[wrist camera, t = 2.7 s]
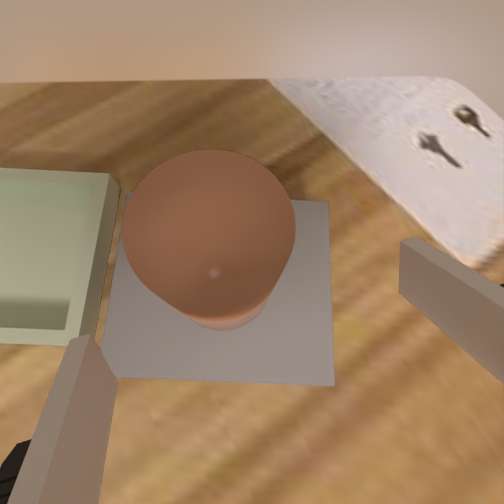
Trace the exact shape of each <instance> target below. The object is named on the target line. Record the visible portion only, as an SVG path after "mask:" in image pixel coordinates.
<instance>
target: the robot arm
mask: <svg viewBox="0 0 504 504" xmlns="http://www.w3.org/2000/svg"><path fill="white" fill-rule="evenodd" d="M399 293H400V294H401V295H402V296H403V297H404V298H405V299H406V300H408V301H409V302H410V303H411V304H412V305H413V306H414V307H416V308H417V309H418V310H419V311H420V312H421V313H422V314H424V315H425V316H426V317H427V318H428V319H429V320H431V321H432V322H433V323H434V324H435V325H436V326H437V327H439V328H440V329H441V330H442V331H443V332H444V333H445V334H447V335H448V336H449V337H450V338H451V339H452V340H453V341H455V342H456V343H457V344H458V345H459V346H460V347H462V348H463V349H464V350H465V351H466V352H467V353H468V354H470V355H471V356H472V357H473V358H474V359H475V360H476V361H478V362H479V363H480V364H481V365H482V366H483V367H485V368H486V369H487V370H488V371H489V372H490V373H491V374H493V375H494V376H495V377H496V378H497V379H498V380H499V381H501V382H502V383H503V384H504V284H501V285H498V284H497V283H495V282H493V281H491V280H490V279H488V278H486V277H485V276H483V275H481V274H479V273H478V272H476V271H474V270H473V269H471V268H469V267H468V266H466V265H464V264H462V263H461V262H459V261H457V260H456V259H454V258H452V257H450V256H449V255H447V254H445V253H444V252H442V251H440V250H438V249H437V248H435V247H433V246H432V245H430V244H428V243H426V242H425V241H423V240H421V239H420V238H418V237H413V238H409V239H406V240H403V241H400V264H399ZM117 384H118V381H117V379H116V378H115V376H114V374H113V372H112V371H111V369H110V367H109V365H108V363H107V362H106V360H105V358H104V356H103V355H102V353H101V351H100V349H99V347H98V346H97V344H96V342H95V340H94V339H93V337H92V335H91V333H90V334H86V335H83V336H80V337H76V338H73V339H70V341H69V343H68V346H67V349H66V351H65V354H64V357H63V359H62V362H61V364H60V367H59V370H58V372H57V375H56V377H55V380H54V383H53V385H52V388H51V390H50V393H49V396H48V398H47V401H46V404H45V406H44V409H43V411H42V414H41V417H40V419H39V422H38V424H37V427H36V430H35V432H34V435H33V437H32V439H31V440H28V441H24V442H21V443H18V444H17V445H16V446H15V447H14V449H13V450H12V451H11V453H10V454H9V455H8V457H7V458H6V459H5V461H4V462H3V463H2V465H1V468H0V504H98V501H99V495H100V488H101V482H102V476H103V470H104V464H105V458H106V452H107V446H108V439H109V433H110V427H111V421H112V415H113V409H114V403H115V397H116V390H117Z"/></svg>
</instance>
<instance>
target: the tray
mask: <svg viewBox="0 0 504 504" xmlns="http://www.w3.org/2000/svg"><path fill="white" fill-rule="evenodd" d="M120 190H121V188H120V187H119V186H118V184H117V183H116V181H115V180H114V179H113V177H112V176H111V175H110V173H92V172H73V171H54V170H36V169H17V168H0V343H5V344H29V345H53V346H68V343H69V341H70V339H73V338H76V337H80V336H83V335H86V334H90V333H91V335H92V337H93V339H94V337H95V331H96V325H97V320H98V314H99V309H100V303H101V297H102V292H103V286H104V280H105V275H106V269H107V264H108V258H109V252H110V247H111V241H112V235H113V230H114V224H115V219H116V213H117V207H118V202H119V196H120Z"/></svg>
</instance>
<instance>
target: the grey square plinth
mask: <svg viewBox="0 0 504 504" xmlns="http://www.w3.org/2000/svg"><path fill="white" fill-rule="evenodd" d="M133 192H134V191H128V193H127V199H126V204H125V209H126V207H127V204H128V201H129V199H130V197H131V195H132V194H133ZM290 201H291V203H292V206H293V210H294V215H295V223H296V233H295V241H294V246H293V250H292V253H291V255H290V258H289V260H288V262H287V264H286V266H285V268H284V270H283V272H282V274H281V276H280V278H279V280H278V282H277V284H276V286H275V287H274V289H273V291H272V293H271V295H270V297H269V299H268V301H267V303H266V305H265V307H264V308H263V310H262V311H261V312H260V314H259V315H258V316H257V317H256V318H254V319H253V320H252V321H251V322H249V323H248V324H246V325H244V326H242V327H239V328H236V329H233V330H226V331H218V330H211V329H207V328H205V327H202V326H200V325H198V324H196V323H195V322H193V321H192V320H191V319H189V318H188V317H186V316H185V315H184V314H182V313H181V312H179V311H178V310H176V309H175V308H174V307H172V306H171V305H169V304H168V303H167V302H165V301H164V300H162V299H161V298H160V297H158V296H157V295H156V294H154V293H153V292H152V291H150V290H149V289H148V288H147V287H146V286H145V285H144V284H143V283H142V282H141V281H140V280H139V278H138V277H137V276H136V274H135V273H134V272H133V270H132V268H131V266H130V264H129V262H128V260H127V257H126V254H125V251H124V246H123V240H122V228H121V234H120V240H119V246H118V251H117V257H116V263H115V269H114V275H113V281H112V287H111V293H110V299H109V304H108V310H107V316H106V322H105V328H104V334H103V340H102V346H101V353H102V355H103V356H104V358H105V360H106V362H107V363H108V365H109V367H110V369H111V371H112V372H113V374H114V376H115V377H116V378H141V379H166V380H191V381H216V382H241V383H266V384H291V385H316V386H335V384H334V353H333V323H332V292H331V262H330V231H329V202H327V201H308V200H290ZM124 213H125V210H124ZM123 217H124V216H123ZM122 225H123V222H122Z"/></svg>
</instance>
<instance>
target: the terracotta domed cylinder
mask: <svg viewBox="0 0 504 504" xmlns="http://www.w3.org/2000/svg"><path fill="white" fill-rule="evenodd" d="M295 233H296V223H295V215H294V210H293V206H292V203H291V201H290V198H289V196H288V194H287V192H286V190H285V188H284V187H283V186H282V184H281V183H280V181H279V180H278V179H277V178H276V177H275V176H274V175H273V173H271V172H270V171H269V170H268V169H267V168H266V167H264V166H263V165H261V164H260V163H258V162H257V161H255V160H253V159H251V158H249V157H247V156H244V155H241V154H239V153H235V152H231V151H226V150H217V149H205V150H196V151H191V152H187V153H183V154H180V155H178V156H175V157H173V158H171V159H169V160H167V161H165V162H163V163H162V164H160V165H158V166H157V167H156V168H154V169H153V170H152V171H151V172H149V173H148V174H147V175H146V176H145V177H144V178H143V180H142V181H141V182H140V183H139V184H138V186H137V187H136V189H135V190H134V192H133V194H132V195H131V197H130V199H129V201H128V204H127V207H126V209H125V213H124V217H123V225H122V240H123V246H124V251H125V254H126V257H127V260H128V262H129V264H130V266H131V268H132V270H133V272H134V273H135V274H136V276H137V277H138V278H139V280H140V281H141V282H142V283H143V284H144V285H145V286H146V287H147V288H148V289H149V290H150V291H152V292H153V293H154V294H156V295H157V296H158V297H160V298H161V299H162V300H164V301H165V302H167V303H168V304H169V305H171V306H172V307H174V308H175V309H176V310H178V311H179V312H181V313H182V314H184V315H185V316H186V317H188V318H189V319H191V320H192V321H193V322H195V323H196V324H198V325H200V326H202V327H205V328H207V329H211V330H218V331H226V330H233V329H236V328H239V327H242V326H244V325H246V324H248V323H249V322H251V321H252V320H253V319H254V318H256V317H257V316H258V315H259V314H260V312H261V311H262V310H263V308H264V307H265V305H266V303H267V301H268V299H269V297H270V295H271V293H272V291H273V289H274V287H275V286H276V284H277V282H278V280H279V278H280V276H281V274H282V272H283V270H284V268H285V266H286V264H287V262H288V260H289V258H290V255H291V253H292V250H293V246H294V241H295Z"/></svg>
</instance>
